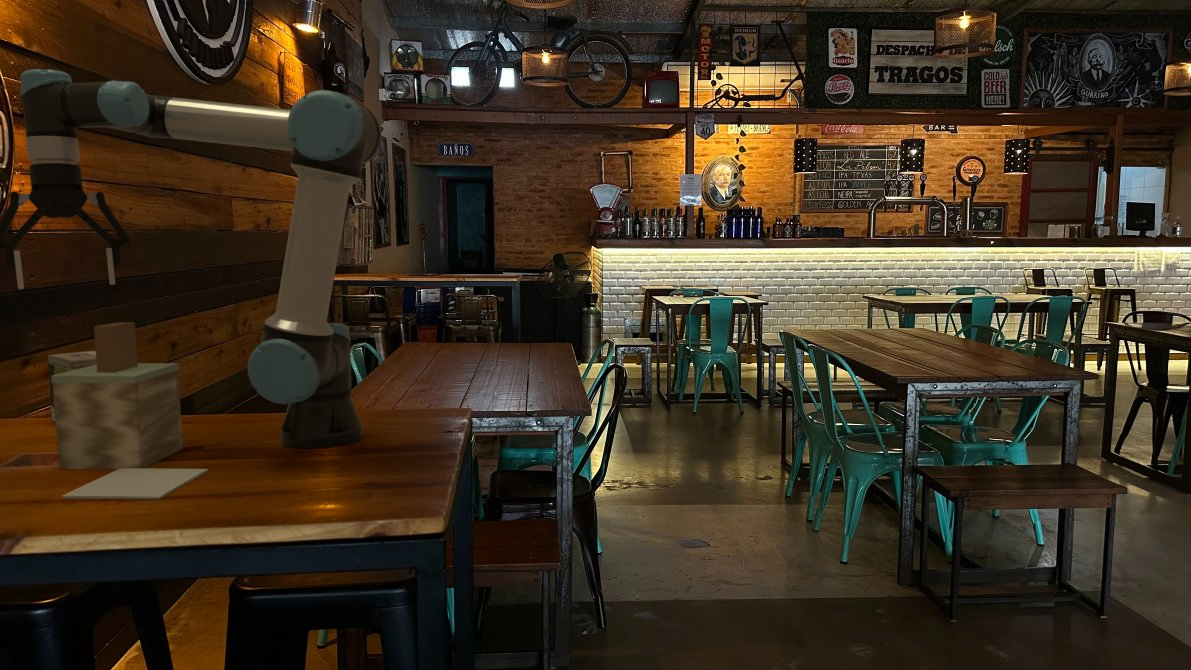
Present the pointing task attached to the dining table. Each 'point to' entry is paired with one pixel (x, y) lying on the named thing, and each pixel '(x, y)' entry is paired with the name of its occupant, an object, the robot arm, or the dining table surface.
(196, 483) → the dining table surface
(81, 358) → the tea box
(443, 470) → the dining table surface
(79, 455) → the crate
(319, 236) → the robot arm
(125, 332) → the lid
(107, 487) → the mat
